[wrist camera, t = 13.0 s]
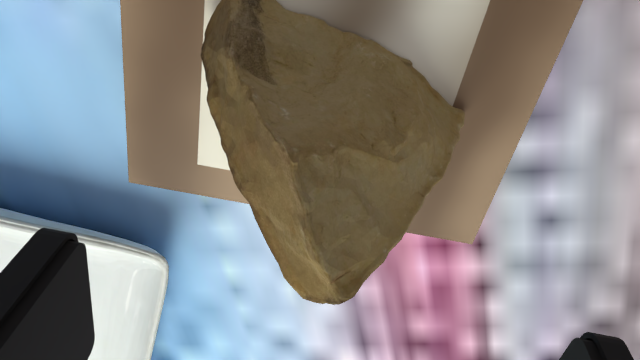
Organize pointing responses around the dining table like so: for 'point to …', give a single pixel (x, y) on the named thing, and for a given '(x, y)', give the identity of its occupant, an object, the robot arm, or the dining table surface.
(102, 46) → the dining table surface
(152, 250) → the square plate
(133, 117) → the stand
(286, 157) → the rock
